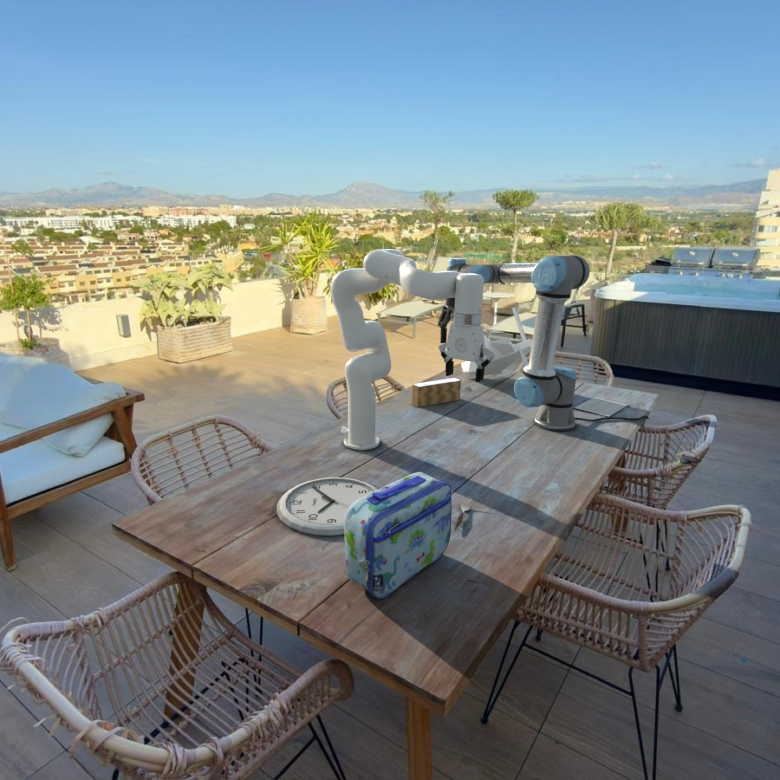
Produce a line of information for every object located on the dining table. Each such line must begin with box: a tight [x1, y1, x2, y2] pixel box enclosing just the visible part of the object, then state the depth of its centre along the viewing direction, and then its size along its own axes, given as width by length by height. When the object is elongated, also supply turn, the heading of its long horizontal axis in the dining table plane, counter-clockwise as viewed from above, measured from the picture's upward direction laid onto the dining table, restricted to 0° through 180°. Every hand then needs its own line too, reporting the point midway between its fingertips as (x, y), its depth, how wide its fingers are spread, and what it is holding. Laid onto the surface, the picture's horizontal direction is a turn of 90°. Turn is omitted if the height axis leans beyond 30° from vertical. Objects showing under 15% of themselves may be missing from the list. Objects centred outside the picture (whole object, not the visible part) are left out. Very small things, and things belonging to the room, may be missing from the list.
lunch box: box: [343, 471, 453, 599], centre depth 113 cm, size 26×11×21 cm, turn 134°
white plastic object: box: [460, 307, 533, 378], centre depth 258 cm, size 37×45×31 cm
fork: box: [454, 495, 473, 531], centre depth 138 cm, size 3×16×2 cm, turn 160°
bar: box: [411, 377, 462, 408], centre depth 228 cm, size 22×5×9 cm, turn 119°
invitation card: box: [573, 396, 629, 417], centre depth 226 cm, size 21×1×15 cm
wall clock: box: [276, 476, 379, 537], centre depth 142 cm, size 30×2×30 cm
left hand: (463, 378), depth 151 cm, fingers open, 9 cm apart
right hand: (452, 346), depth 225 cm, fingers open, 13 cm apart
